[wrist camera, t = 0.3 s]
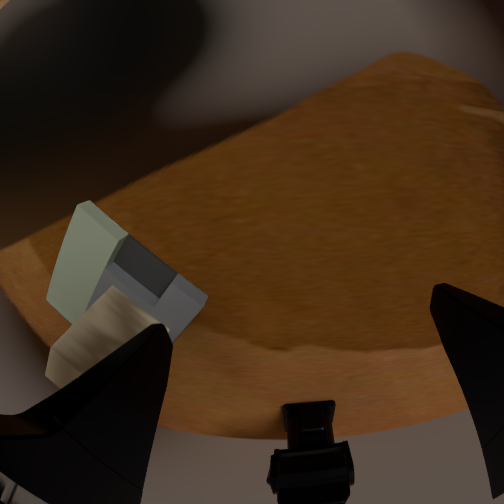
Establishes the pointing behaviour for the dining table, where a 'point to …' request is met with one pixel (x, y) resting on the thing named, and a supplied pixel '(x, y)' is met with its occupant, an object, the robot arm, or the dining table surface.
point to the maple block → (96, 336)
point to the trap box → (117, 273)
